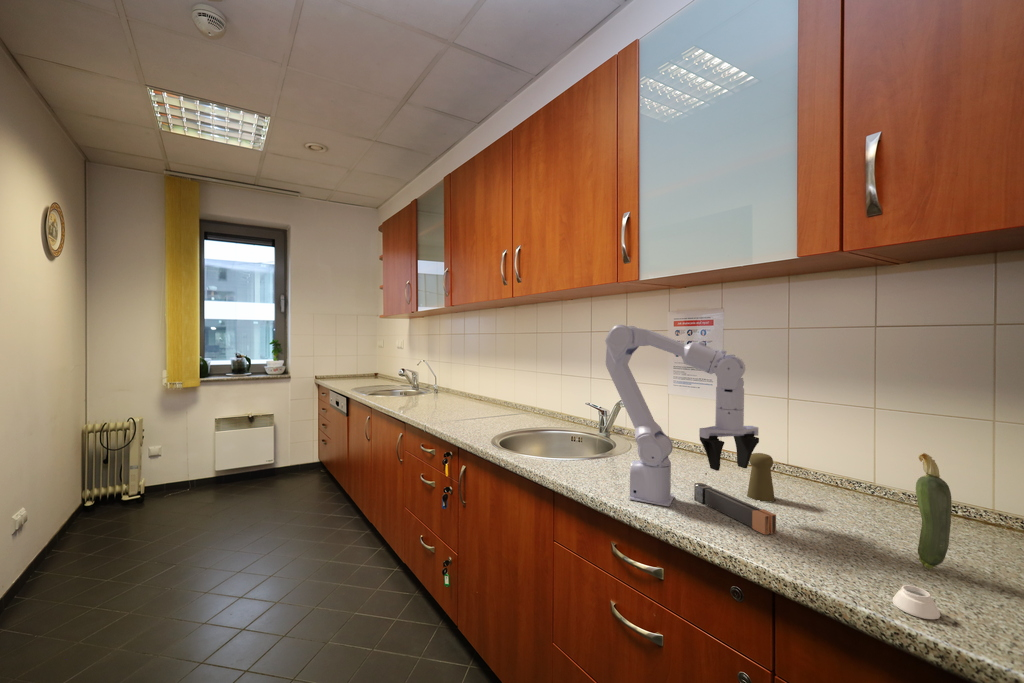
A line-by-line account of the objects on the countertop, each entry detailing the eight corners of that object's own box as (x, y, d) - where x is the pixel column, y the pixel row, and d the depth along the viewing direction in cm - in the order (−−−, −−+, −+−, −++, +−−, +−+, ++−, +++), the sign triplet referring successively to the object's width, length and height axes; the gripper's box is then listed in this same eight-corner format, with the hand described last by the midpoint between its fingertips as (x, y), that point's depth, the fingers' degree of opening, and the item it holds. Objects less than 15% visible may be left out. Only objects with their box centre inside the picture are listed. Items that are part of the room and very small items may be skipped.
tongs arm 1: (704, 504, 103) (704, 488, 103) (708, 503, 104) (708, 488, 104) (764, 534, 87) (764, 516, 87) (769, 533, 88) (769, 515, 88)
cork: (778, 502, 106) (779, 457, 106) (751, 500, 107) (752, 456, 107) (769, 494, 111) (769, 451, 112) (743, 492, 113) (744, 450, 113)
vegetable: (949, 570, 74) (950, 453, 74) (952, 580, 71) (953, 458, 71) (914, 561, 77) (915, 449, 77) (915, 570, 74) (916, 453, 74)
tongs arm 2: (709, 503, 104) (710, 488, 104) (713, 503, 104) (714, 487, 104) (771, 533, 88) (771, 515, 88) (776, 532, 88) (776, 514, 88)
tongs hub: (691, 498, 108) (691, 483, 108) (701, 497, 108) (701, 482, 108) (702, 504, 104) (702, 488, 104) (712, 503, 105) (712, 487, 105)
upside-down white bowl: (887, 608, 64) (934, 626, 60) (888, 587, 64) (934, 605, 60) (899, 597, 67) (944, 614, 62) (899, 578, 67) (944, 593, 62)
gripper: (715, 412, 92) (714, 475, 92) (770, 410, 96) (769, 471, 96) (693, 407, 99) (692, 466, 99) (745, 405, 103) (744, 462, 103)
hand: (728, 468), depth 98 cm, fingers open, 7 cm apart
